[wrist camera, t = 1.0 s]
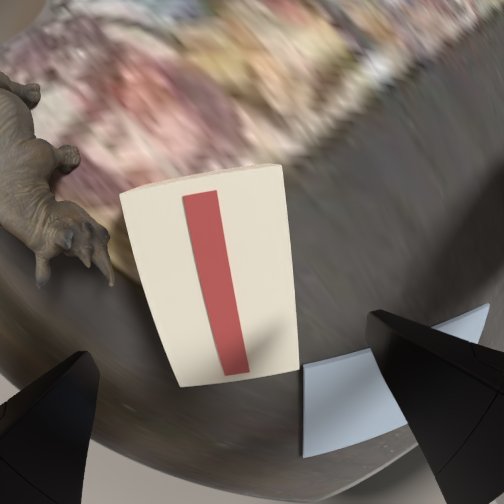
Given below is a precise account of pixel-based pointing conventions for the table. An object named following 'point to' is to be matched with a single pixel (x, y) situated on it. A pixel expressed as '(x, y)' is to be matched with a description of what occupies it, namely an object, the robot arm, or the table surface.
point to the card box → (217, 272)
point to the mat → (360, 393)
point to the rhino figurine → (42, 190)
